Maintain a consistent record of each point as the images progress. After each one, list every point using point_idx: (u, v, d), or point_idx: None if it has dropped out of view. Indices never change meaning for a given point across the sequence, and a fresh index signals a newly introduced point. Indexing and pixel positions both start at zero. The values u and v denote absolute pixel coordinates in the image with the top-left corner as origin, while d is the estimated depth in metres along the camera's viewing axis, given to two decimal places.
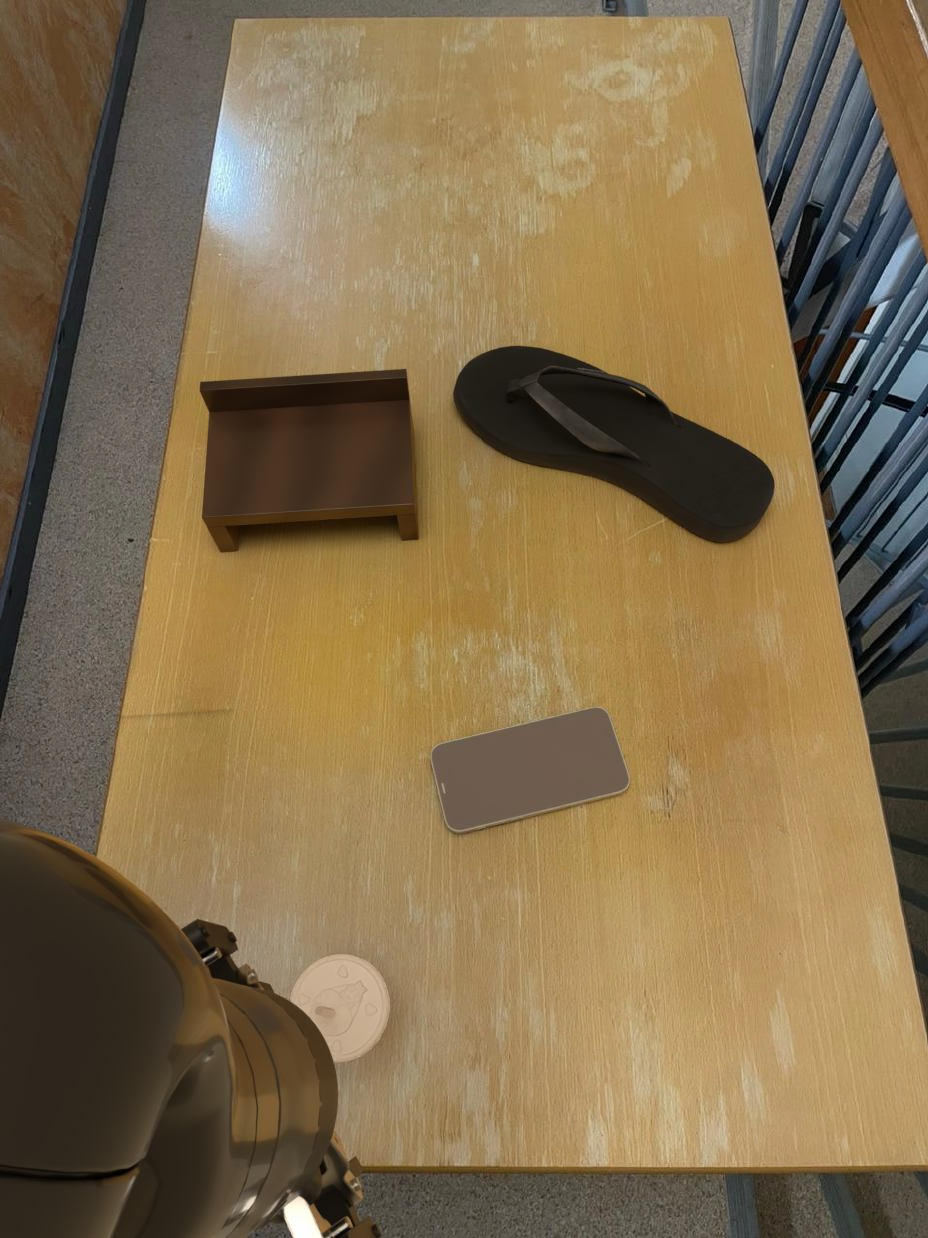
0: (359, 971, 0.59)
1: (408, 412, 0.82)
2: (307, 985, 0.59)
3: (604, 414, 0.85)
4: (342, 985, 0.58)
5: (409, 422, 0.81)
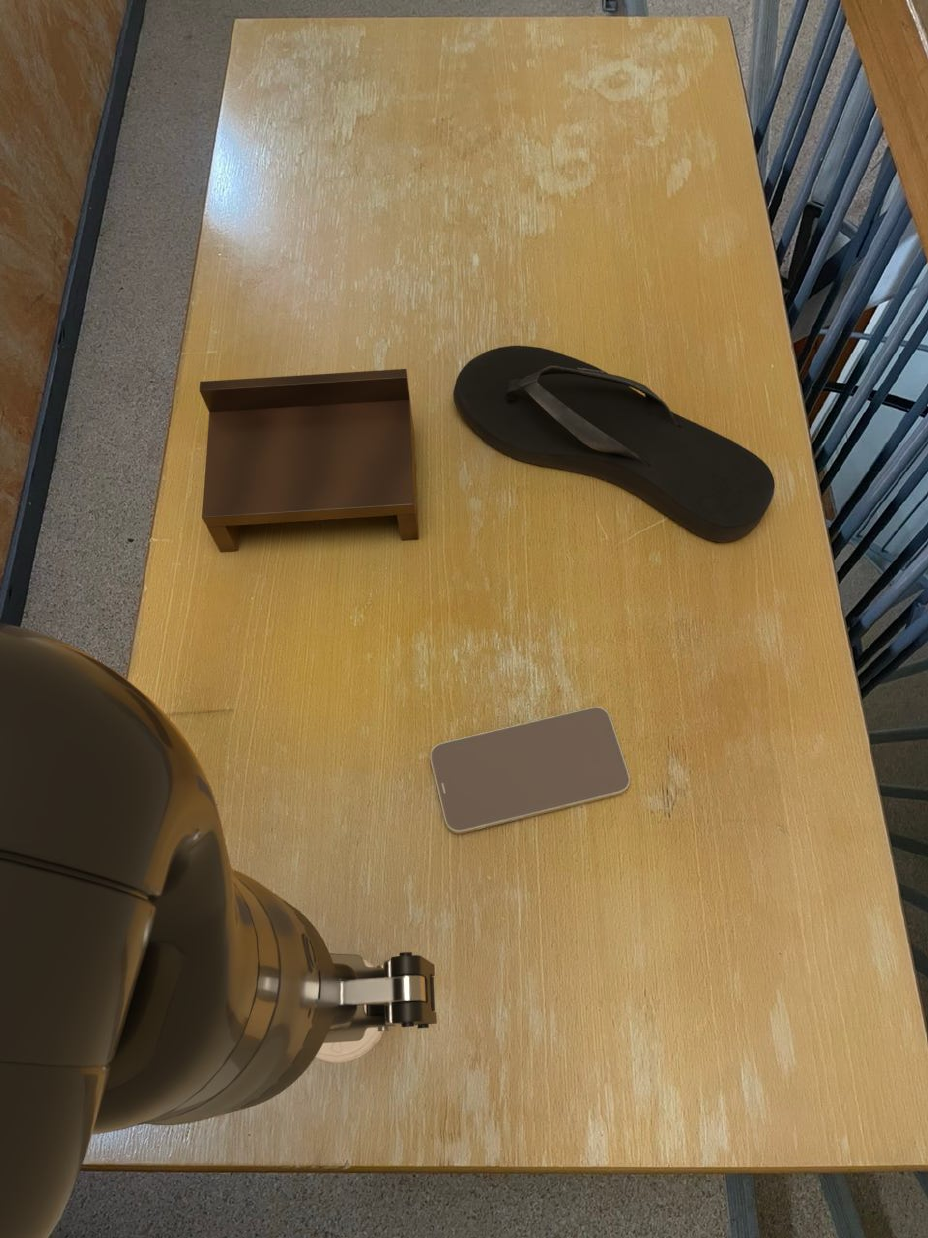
0: None
1: (408, 412, 0.82)
2: None
3: (604, 414, 0.85)
4: None
5: (409, 422, 0.81)
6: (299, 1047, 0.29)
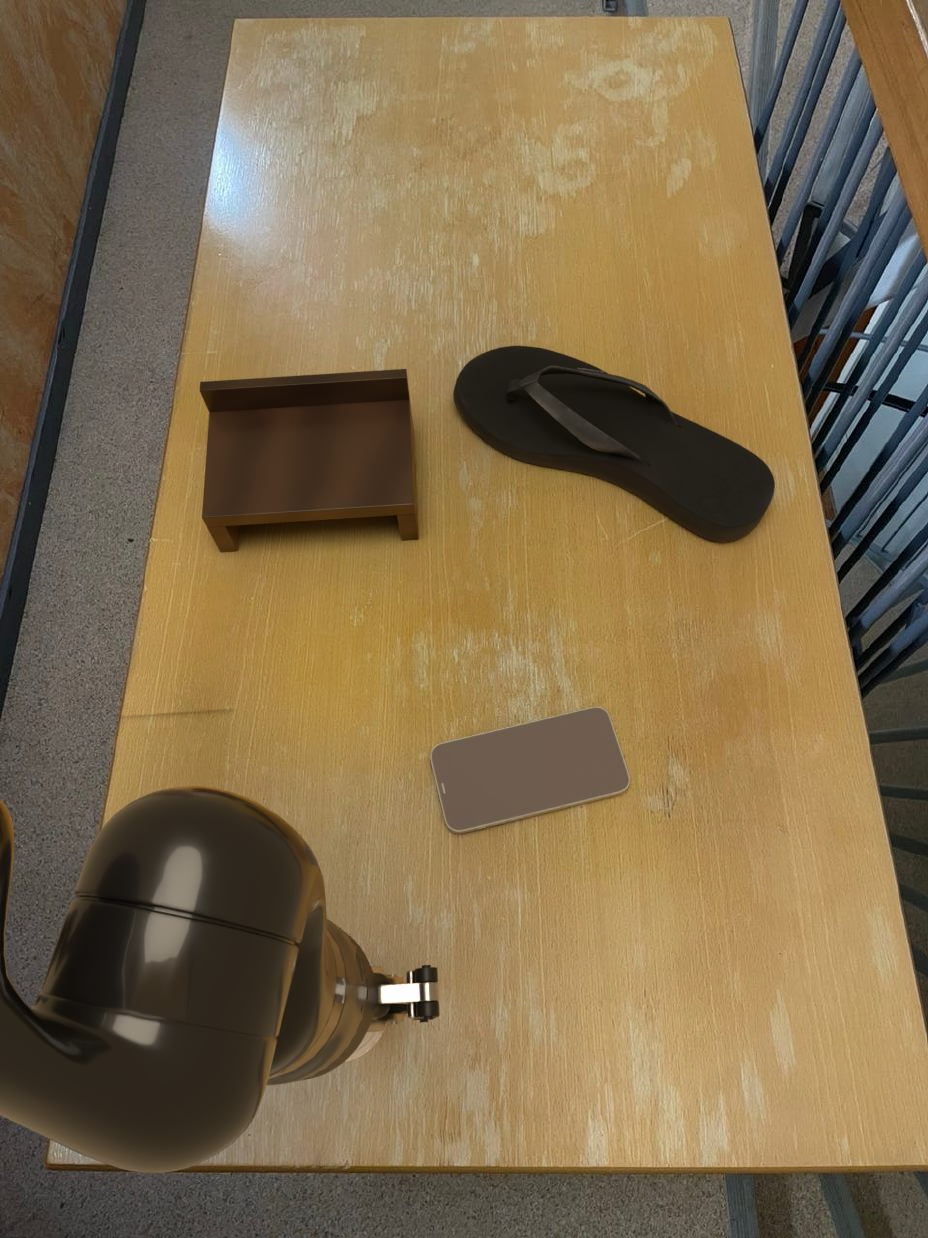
0: None
1: (408, 412, 0.82)
2: None
3: (604, 414, 0.85)
4: None
5: (409, 422, 0.81)
6: (354, 1033, 0.42)
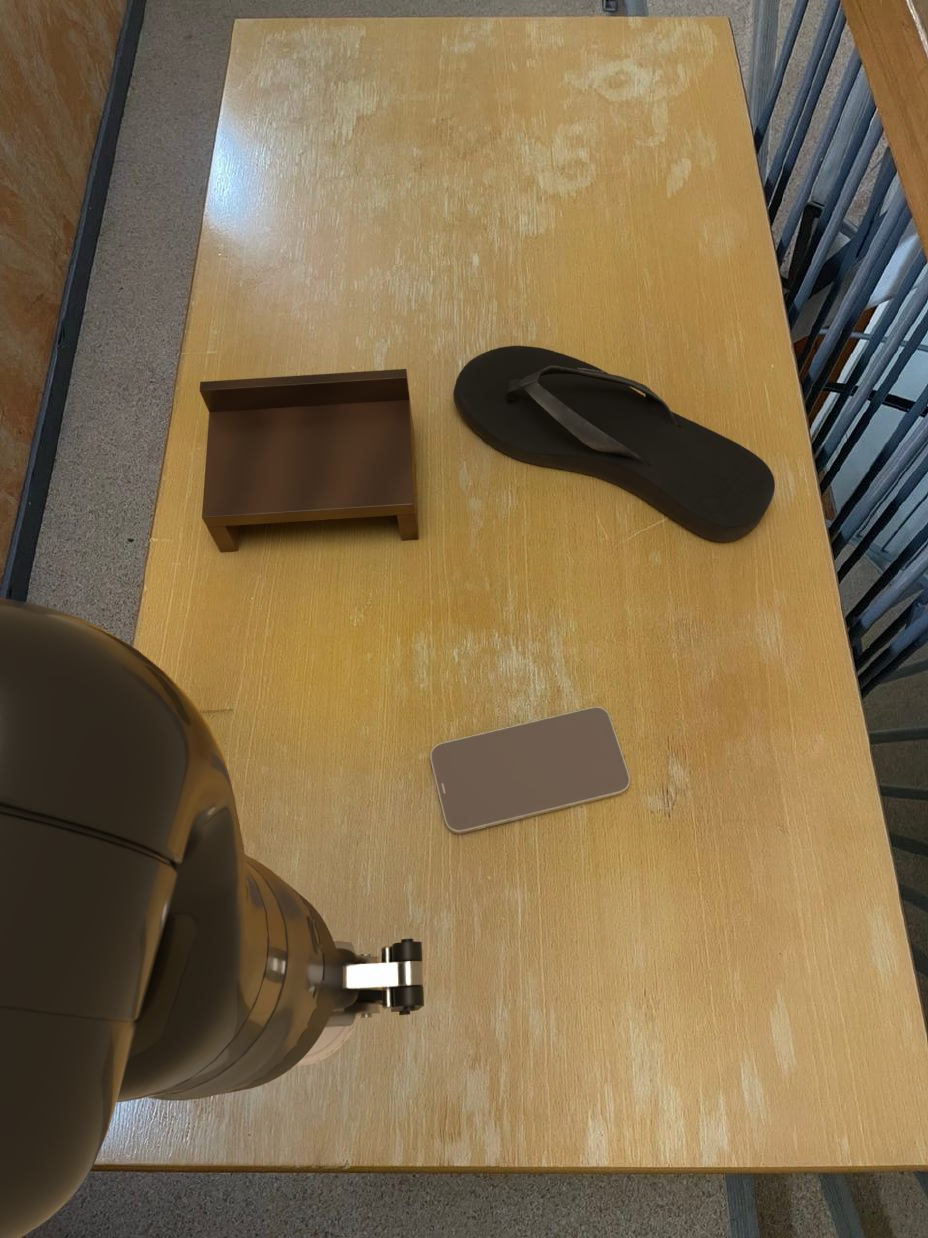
0: None
1: (408, 412, 0.82)
2: None
3: (604, 414, 0.85)
4: None
5: (409, 422, 0.81)
6: (304, 1026, 0.30)
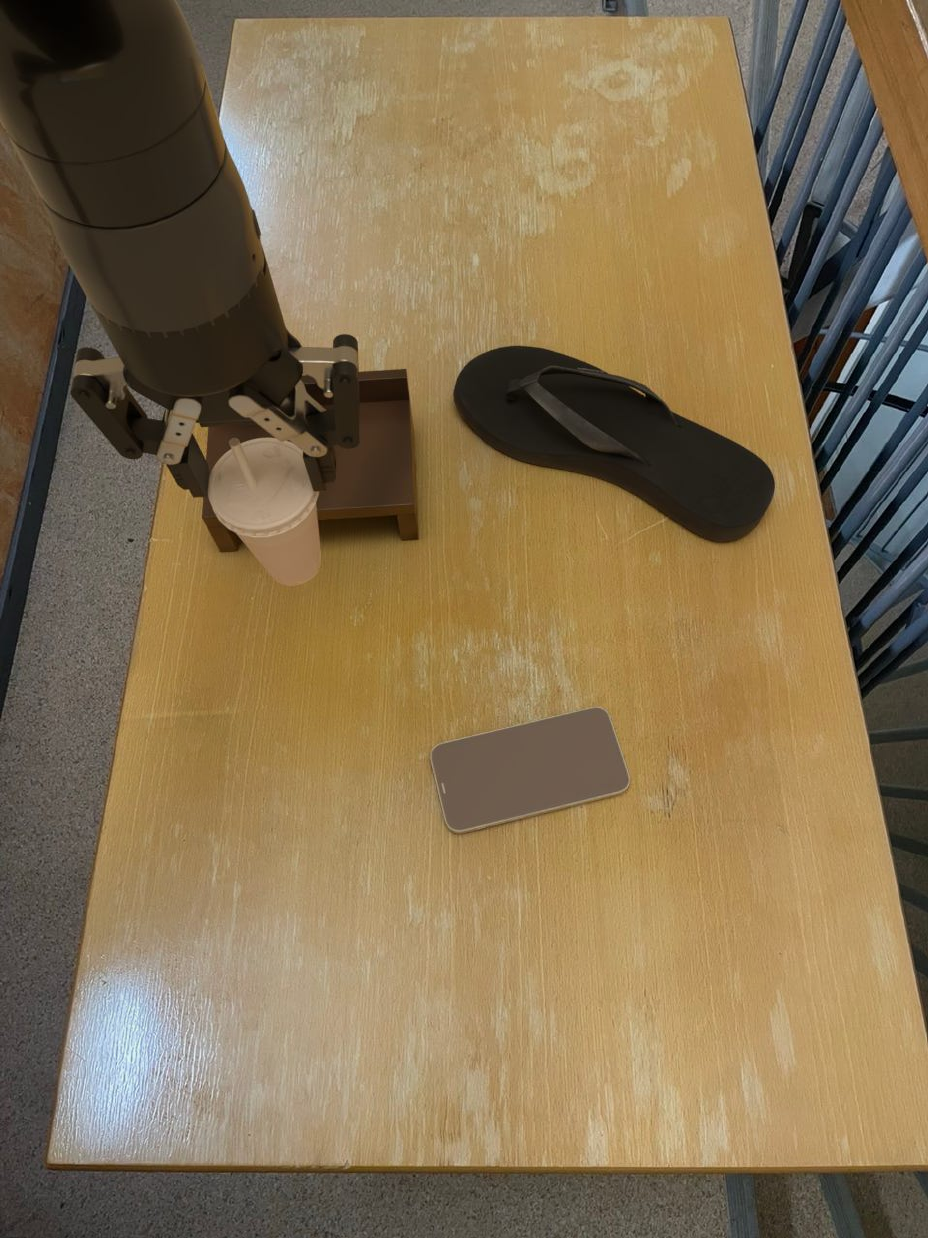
0: (286, 452, 0.54)
1: (408, 412, 0.82)
2: (229, 464, 0.54)
3: (604, 414, 0.85)
4: (267, 463, 0.53)
5: (409, 422, 0.81)
6: (245, 285, 0.37)
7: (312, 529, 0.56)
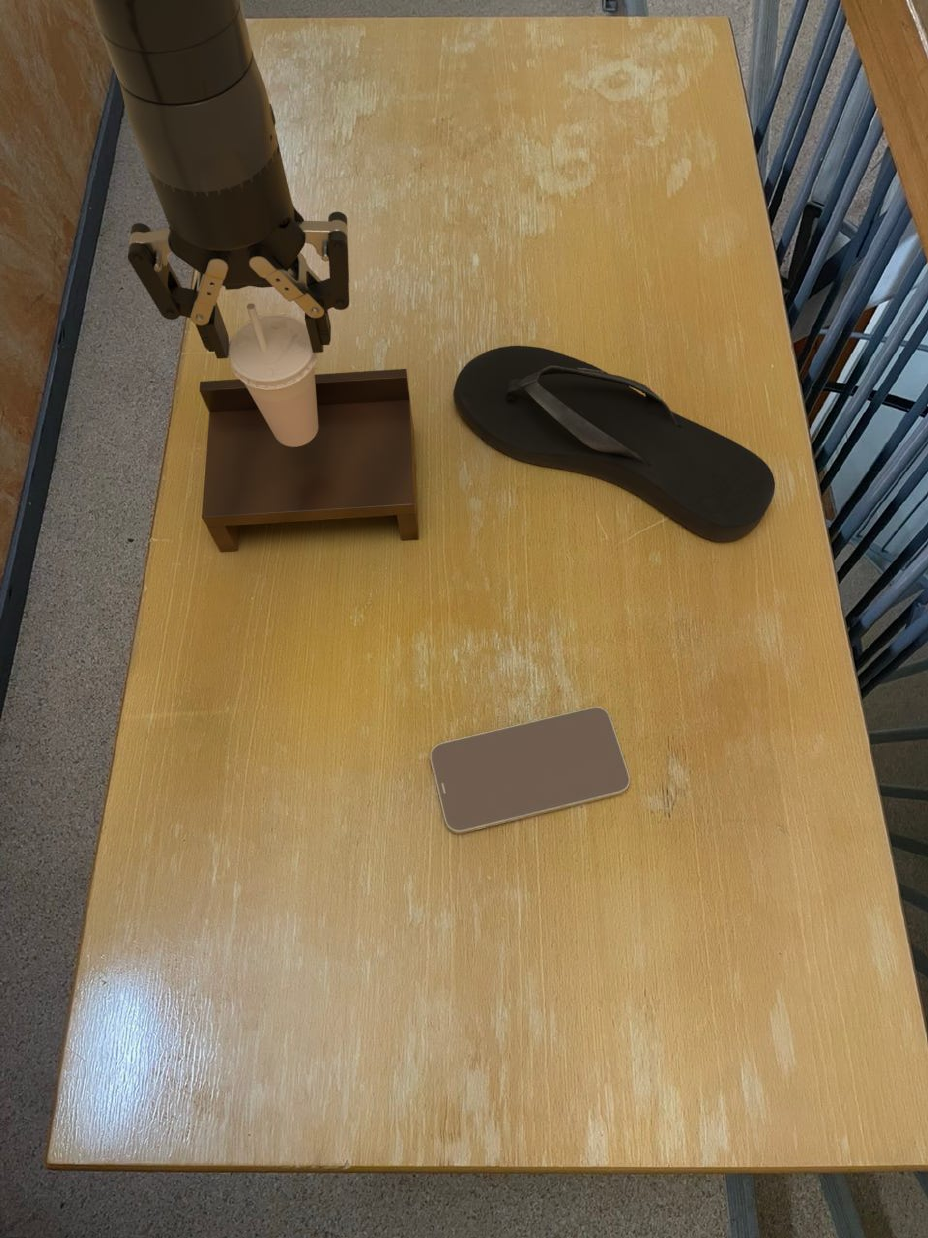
0: (290, 324, 0.67)
1: (408, 412, 0.82)
2: (244, 333, 0.67)
3: (604, 414, 0.85)
4: (275, 332, 0.67)
5: (409, 422, 0.81)
6: (265, 158, 0.50)
7: (311, 390, 0.69)
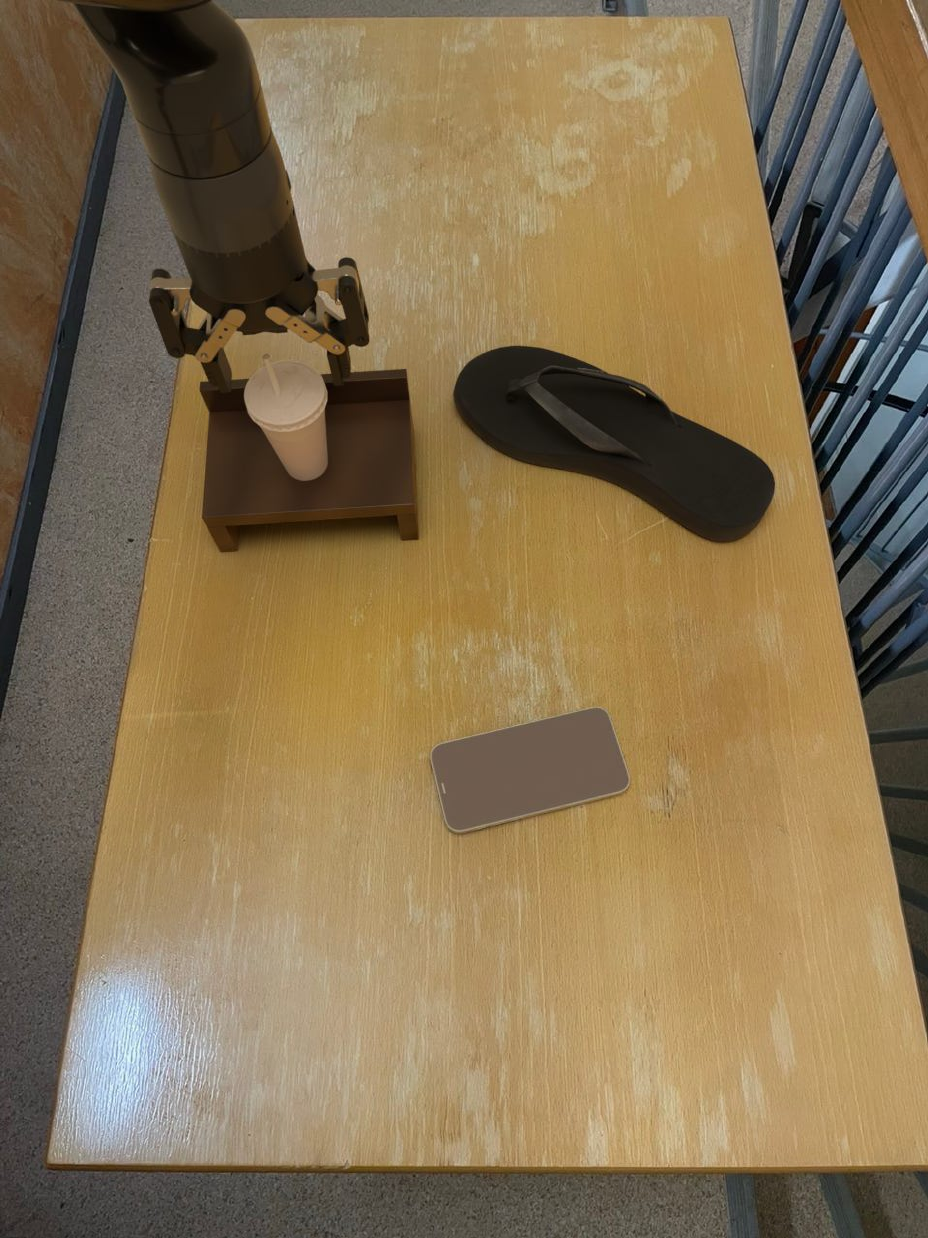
0: (302, 369, 0.72)
1: (408, 412, 0.82)
2: (259, 378, 0.72)
3: (604, 414, 0.85)
4: (288, 377, 0.71)
5: (409, 422, 0.81)
6: (282, 221, 0.54)
7: (322, 430, 0.74)
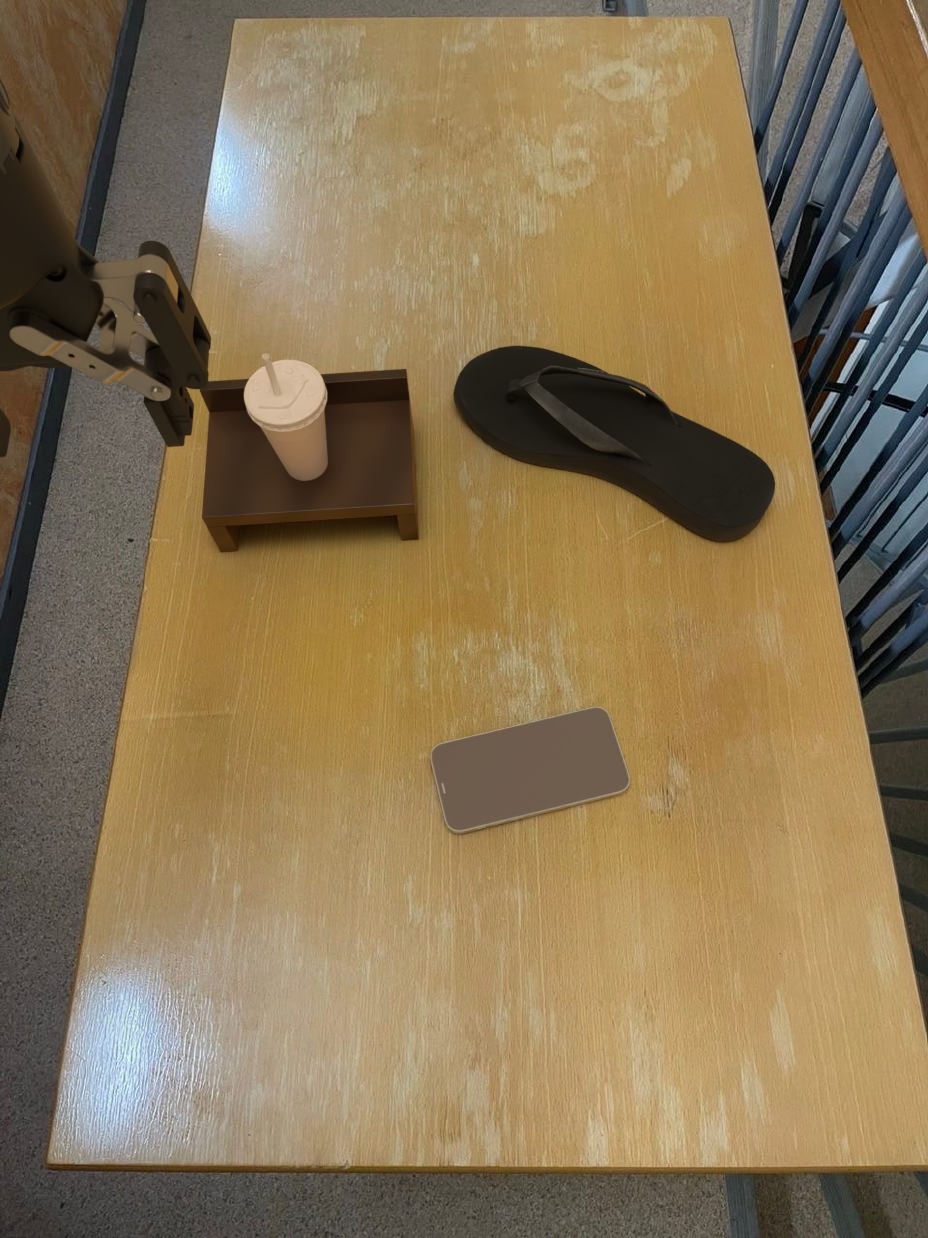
0: (302, 369, 0.72)
1: (408, 412, 0.82)
2: (259, 378, 0.72)
3: (604, 414, 0.85)
4: (288, 377, 0.71)
5: (409, 422, 0.81)
6: None
7: (321, 430, 0.74)
